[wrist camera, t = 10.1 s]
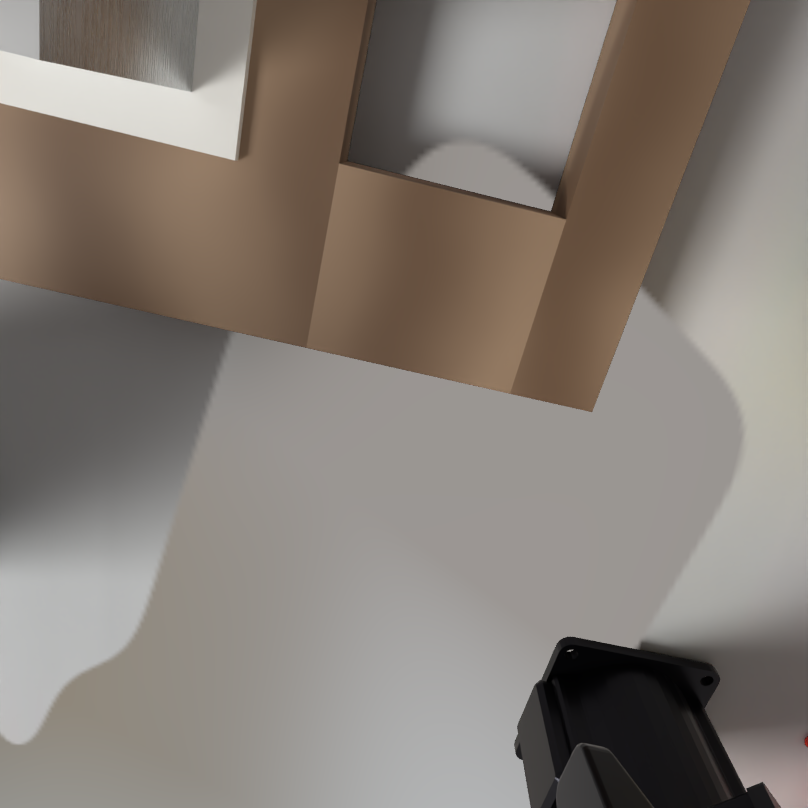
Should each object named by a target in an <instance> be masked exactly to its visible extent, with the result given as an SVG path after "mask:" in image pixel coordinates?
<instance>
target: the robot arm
mask: <svg viewBox="0 0 808 808" xmlns="http://www.w3.org/2000/svg"><path fill="white" fill-rule="evenodd" d="M572 649H573V651H571V652H567V651H568V650H572ZM705 676H706V677H705ZM719 682H720V677H719V675H718V673H717V671H716V669H715V668H714V667H713V666H712V665H710V664H708V663H703V662H698V661H692V660H687V659H682V658H677V657H672V656H667V655H662V654H657V653H652V652H647V651H642V650H637V649H632V648H627V647H621V646H616V645H611V644H606V643H601V642H596V641H591V640H586V639H581V638H576V637H566V638H563V639H561V640H560V641H559V642H558V643H557V645H556V647H555V650H554V652H553V654H552V656H551V659H550V661H549V664H548V666H547V668H546V670H545V673H544V675H543V677H542V680H540V681H539V682H538V683H536V684H535V686H534V688H533V690H532V693H531V695H530V697H529V700H528V702H527V704H526V707H525V709H524V712H523V714H522V716H521V718H520V721H519V723H518V726H517V729H518V735H517V738H516V740H515V744H514V746H515V752H516V755H517V757H518V758H519V759H521V760H523V764H524V770H525V776H526V782H527V788H528V793H529V799H530V805H531V808H781V807H780V805H779V804H778V803H777V801H776V800H775V798H774V797H773V796H772V794H771V793H770V791H769V790H768V788H767V787H766V786H765V784H764V783H763V782H761V783H759V784H756V785H754V786H751V787H749V788H746V789H747V792H746V790H745V788H744V786H743V784H742V782H741V780H740V778H739V776H738V774H737V772H736V770H735V768H734V766H733V764H732V763H731V761H730V759H729V757H728V755H727V753H726V751H725V749H724V747H723V745H722V743H721V741H720V739H719V737H718V735H717V733H716V731H715V729H714V727H713V725H712V723H711V721H710V719H709V717H708V715H707V713H706V711H705V709H704V708H705V706H706V705H707V703H708V701H709V699H710V698H711V696H712V694H713V693H714V691H715V689H716V688H717V686H718V684H719Z"/></svg>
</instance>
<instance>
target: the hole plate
mask: <svg viewBox="0 0 808 808" xmlns="http://www.w3.org/2000/svg"><path fill="white" fill-rule="evenodd" d="M376 1H377V0H199V12H198V24H197V36H196V48H195V60H194V72H193V84H192V92H188V91H184V90H179V89H174V88H169V87H165V86H160V85H155V84H151V83H146V82H141V81H136V80H132V79H127V78H122V77H117V76H113V75H108V74H103V73H98V72H94V71H89V70H84V69H79V68H75V67H70V66H65V65H60V64H56V63H51V62H46V61H42V60H37V59H33V58H29V57H25V56H21V55H17V54H13V53H9V52H5V51H1V50H0V279H3V280H7V281H12V282H16V283H21V284H25V285H29V286H34V287H38V288H43V289H47V290H52V291H56V292H61V293H65V294H69V295H74V296H78V297H83V298H87V299H92V300H96V301H101V302H105V303H109V304H114V305H118V306H123V307H127V308H132V309H136V310H141V311H145V312H149V313H154V314H158V315H163V316H167V317H172V318H176V319H181V320H185V321H189V322H194V323H198V324H203V325H207V326H212V327H216V328H221V329H225V330H229V331H234V332H239V333H243V334H247V335H252V336H256V337H261V338H265V339H270V340H274V341H278V342H283V343H288V344H292V345H296V346H301V347H305V348H310V349H314V350H318V351H323V352H327V353H332V354H336V355H341V356H345V357H350V358H354V359H358V360H363V361H367V362H372V363H376V364H381V365H385V366H389V367H395V368H399V369H403V370H407V371H412V372H416V373H421V374H425V375H429V376H434V377H438V378H443V379H447V380H452V381H456V382H461V383H465V384H469V385H474V386H478V387H483V388H488V389H492V390H496V391H501V392H505V393H509V394H514V395H518V396H523V397H527V398H532V399H536V400H541V401H545V402H550V403H554V404H558V405H563V406H568V407H572V408H576V409H581V410H585V411H589V412H592V411H593V408H594V405H595V403H596V400H597V398H598V395H599V393H600V390H601V387H602V385H603V382H604V379H605V376H606V374H607V372H608V369H609V366H610V364H611V361H612V359H613V356H614V354H615V351H616V348H617V346H618V343H619V341H620V338H621V335H622V333H623V330H624V328H625V325H626V322H627V320H628V317H629V315H630V312H631V310H632V307H633V304H634V302H635V299H636V296H637V294H638V291H639V289H640V286H641V284H642V281H643V278H644V276H645V273H646V271H647V268H648V265H649V263H650V260H651V258H652V255H653V253H654V250H655V247H656V245H657V242H658V240H659V237H660V234H661V232H662V229H663V227H664V224H665V221H666V219H667V216H668V214H669V211H670V208H671V206H672V203H673V201H674V198H675V195H676V193H677V190H678V188H679V185H680V182H681V180H682V177H683V175H684V172H685V170H686V167H687V164H688V162H689V159H690V157H691V154H692V151H693V149H694V146H695V144H696V141H697V138H698V136H699V133H700V131H701V128H702V125H703V123H704V120H705V118H706V115H707V112H708V110H709V107H710V105H711V102H712V99H713V97H714V94H715V92H716V89H717V87H718V84H719V81H720V79H721V76H722V74H723V71H724V68H725V66H726V63H727V61H728V58H729V55H730V53H731V50H732V48H733V45H734V42H735V40H736V37H737V35H738V32H739V29H740V27H741V24H742V22H743V19H744V16H745V14H746V11H747V9H748V6H749V4H750V1H751V0H617V2H616V5H615V8H614V12H613V15H612V18H611V21H610V24H609V28H608V31H607V34H606V37H605V40H604V44H603V47H602V50H601V53H600V56H599V60H598V63H597V66H596V69H595V72H594V76H593V79H592V82H591V85H590V88H589V92H588V95H587V98H586V101H585V104H584V107H583V111H582V114H581V117H580V120H579V123H578V127H577V130H576V133H575V136H574V139H573V143H572V146H571V149H570V152H569V155H568V159H567V162H566V165H565V168H564V171H563V175H562V178H561V181H560V184H559V187H558V191H557V194H556V197H555V200H554V203H553V207H552V210H551V211H547V210H542V209H538V208H535V207H530V206H526V205H522V204H518V203H514V202H510V201H506V200H502V199H498V198H494V197H490V196H486V195H482V194H478V193H474V192H470V191H466V190H462V189H458V188H454V187H450V186H446V185H441V184H438V183H433V182H430V181H426V180H422V179H418V178H413V177H410V176H406V175H402V174H397V173H393V172H389V171H385V170H381V169H377V168H373V167H369V166H365V165H361V164H357V163H353V162H349V161H347V160H348V154H349V149H350V143H351V138H352V132H353V127H354V121H355V116H356V110H357V105H358V99H359V94H360V88H361V83H362V77H363V72H364V66H365V61H366V55H367V50H368V44H369V39H370V33H371V28H372V22H373V17H374V11H375V6H376Z"/></svg>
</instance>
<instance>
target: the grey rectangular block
mask: <svg viewBox="0 0 808 808" xmlns="http://www.w3.org/2000/svg"><path fill="white" fill-rule="evenodd" d="M198 12H199V0H0V50H1V51H5V52H9V53H13V54H17V55H21V56H25V57H29V58H33V59H37V60H42V61H46V62H51V63H56V64H60V65H65V66H70V67H75V68H79V69H84V70H89V71H94V72H98V73H103V74H108V75H113V76H117V77H122V78H127V79H132V80H136V81H141V82H146V83H151V84H155V85H160V86H165V87H169V88H174V89H179V90H184V91H188V92H192V84H193V72H194V60H195V48H196V36H197V24H198Z"/></svg>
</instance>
